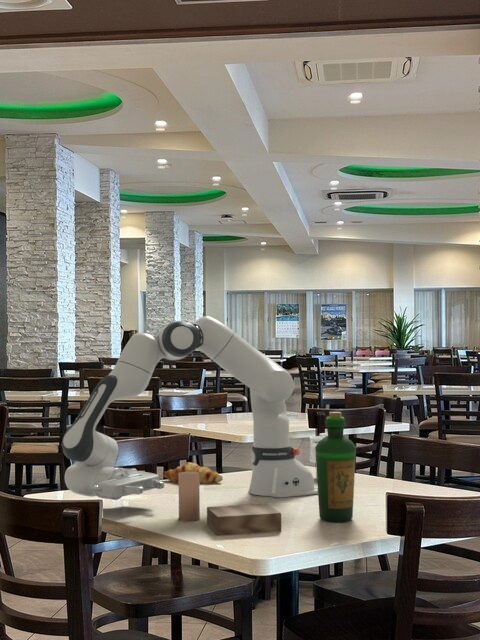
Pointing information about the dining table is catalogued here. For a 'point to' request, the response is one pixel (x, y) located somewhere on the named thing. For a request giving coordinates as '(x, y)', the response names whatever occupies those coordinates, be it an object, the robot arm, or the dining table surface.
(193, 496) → the pink upright cylinder
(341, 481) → the bottle
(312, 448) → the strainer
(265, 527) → the brown rectangular block
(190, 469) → the croissant
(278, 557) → the dining table surface
